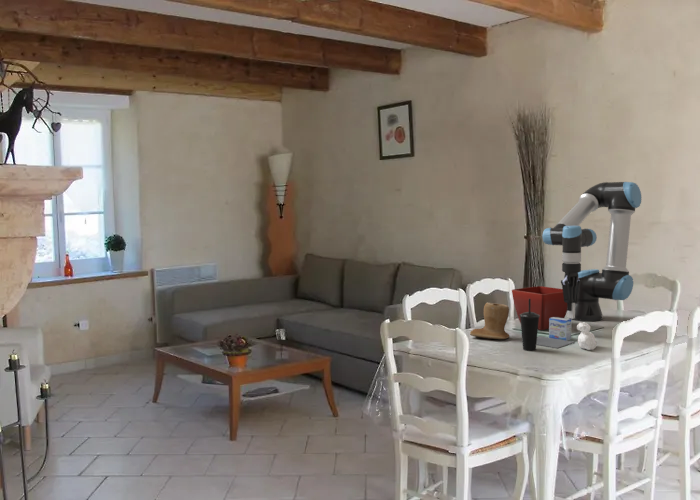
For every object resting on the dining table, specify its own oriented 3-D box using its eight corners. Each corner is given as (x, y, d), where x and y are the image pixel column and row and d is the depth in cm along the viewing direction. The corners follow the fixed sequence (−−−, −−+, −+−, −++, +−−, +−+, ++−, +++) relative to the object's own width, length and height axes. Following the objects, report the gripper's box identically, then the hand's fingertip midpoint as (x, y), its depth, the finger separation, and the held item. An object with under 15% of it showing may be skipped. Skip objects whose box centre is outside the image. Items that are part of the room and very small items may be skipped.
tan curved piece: (513, 336, 292) (513, 301, 291) (503, 342, 282) (503, 306, 281) (480, 333, 300) (480, 299, 299) (469, 338, 290) (469, 303, 289)
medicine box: (548, 338, 287) (548, 318, 287) (553, 336, 291) (554, 316, 290) (566, 341, 282) (566, 320, 281) (571, 339, 285) (571, 318, 284)
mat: (539, 336, 290) (539, 336, 290) (574, 342, 279) (574, 341, 279) (522, 342, 282) (522, 341, 282) (557, 348, 270) (557, 347, 270)
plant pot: (539, 320, 324) (539, 285, 323) (572, 327, 308) (572, 290, 307) (510, 326, 314) (510, 289, 312) (543, 333, 298) (543, 294, 296)
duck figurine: (589, 350, 275) (571, 326, 278) (605, 340, 272) (587, 316, 274) (583, 357, 265) (564, 332, 267) (599, 346, 261) (580, 322, 264)
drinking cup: (520, 351, 266) (520, 300, 264) (518, 347, 274) (518, 297, 272) (540, 351, 265) (541, 300, 263) (538, 347, 273) (538, 297, 271)
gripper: (571, 260, 296) (570, 314, 298) (555, 263, 287) (554, 319, 290) (587, 261, 291) (587, 317, 293) (571, 264, 282) (570, 321, 284)
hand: (570, 318), depth 291 cm, fingers closed
